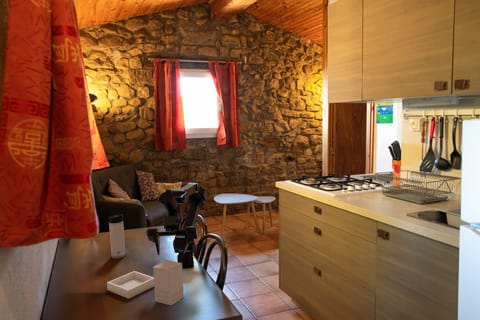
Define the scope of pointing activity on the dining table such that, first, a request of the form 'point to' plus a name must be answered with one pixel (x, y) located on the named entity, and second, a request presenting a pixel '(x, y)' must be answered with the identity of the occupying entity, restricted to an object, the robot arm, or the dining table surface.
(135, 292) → the tray
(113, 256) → the travel mug
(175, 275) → the supplement box
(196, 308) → the dining table surface
